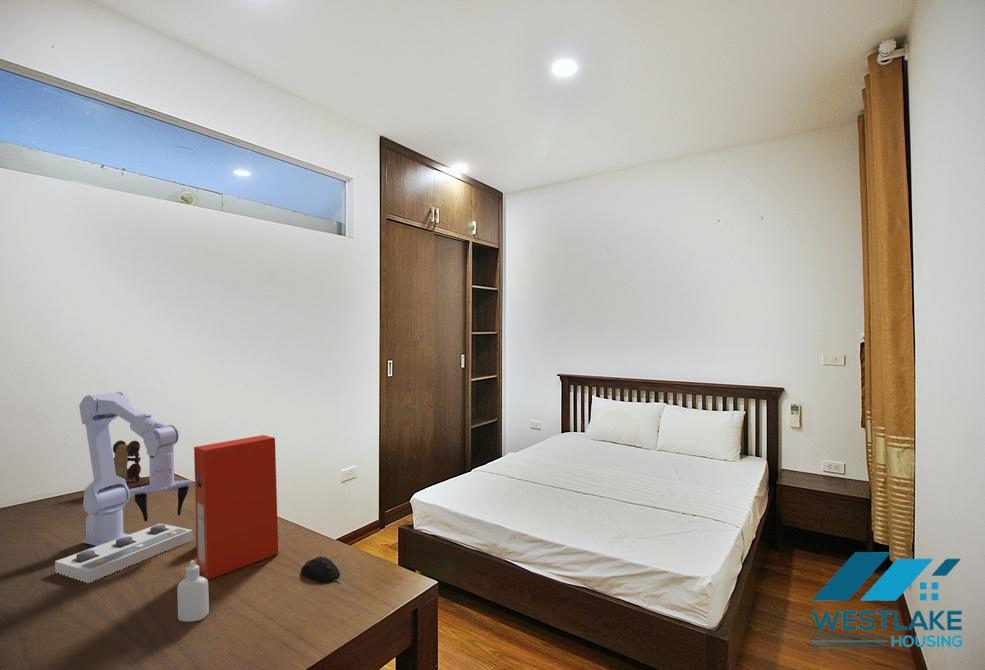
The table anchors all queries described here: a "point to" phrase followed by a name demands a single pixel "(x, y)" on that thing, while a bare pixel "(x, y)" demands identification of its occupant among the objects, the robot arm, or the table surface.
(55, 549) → the table surface
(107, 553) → the button board
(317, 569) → the gaming mouse
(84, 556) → the button
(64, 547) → the table surface
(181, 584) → the eye dropper bottle
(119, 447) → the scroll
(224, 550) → the file binder
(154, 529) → the button
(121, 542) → the button middle
